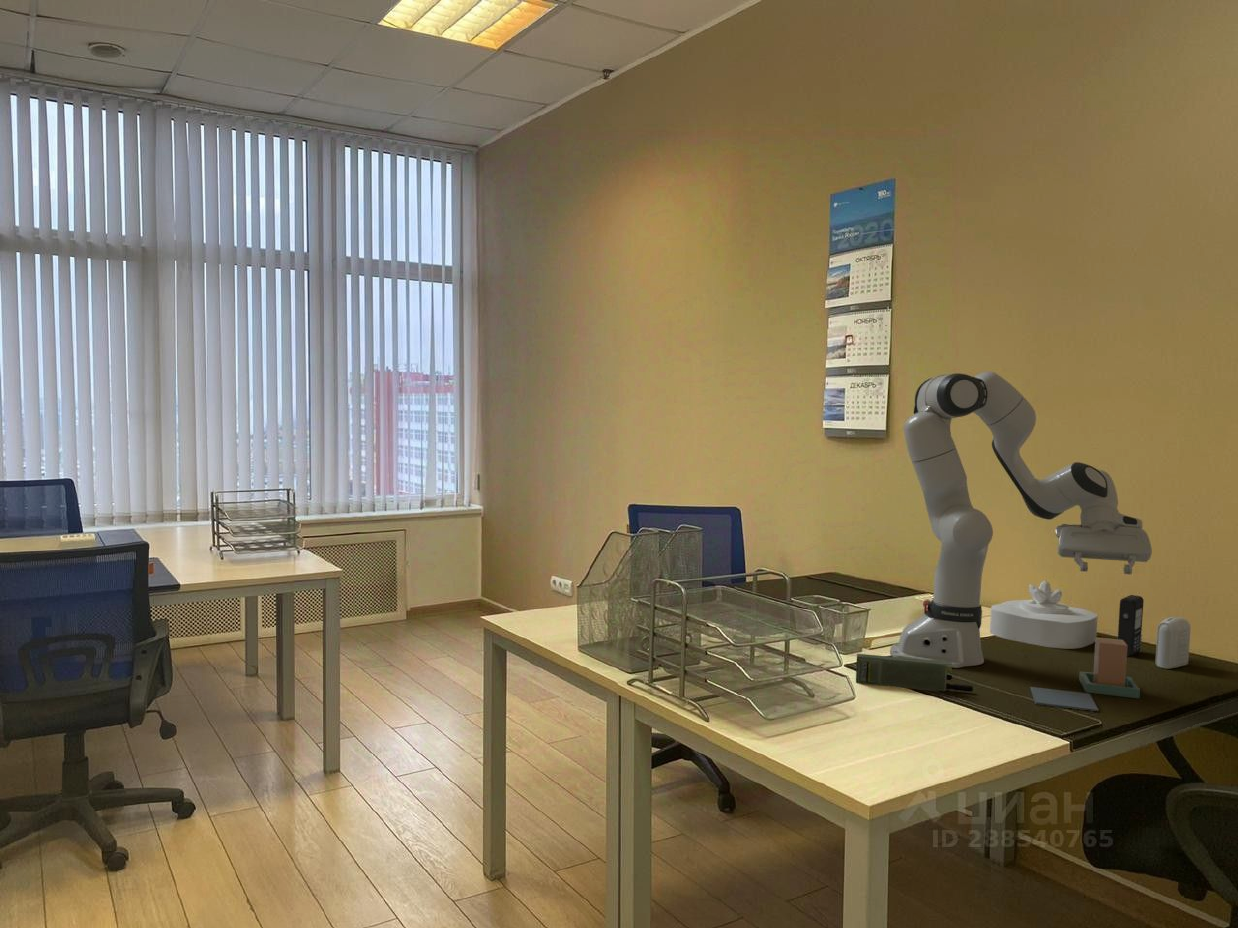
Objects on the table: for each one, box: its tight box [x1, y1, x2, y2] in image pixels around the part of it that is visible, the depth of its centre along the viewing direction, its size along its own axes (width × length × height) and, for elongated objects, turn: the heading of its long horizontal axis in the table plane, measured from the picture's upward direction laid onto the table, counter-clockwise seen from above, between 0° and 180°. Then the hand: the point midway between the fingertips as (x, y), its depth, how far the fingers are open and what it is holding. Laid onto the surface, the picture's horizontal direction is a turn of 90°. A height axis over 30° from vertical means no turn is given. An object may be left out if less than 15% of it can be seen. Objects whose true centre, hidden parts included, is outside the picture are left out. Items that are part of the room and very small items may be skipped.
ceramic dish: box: [1078, 670, 1141, 699], centre depth 208 cm, size 11×11×3 cm
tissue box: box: [989, 580, 1099, 650], centre depth 258 cm, size 25×25×16 cm
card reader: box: [1117, 594, 1145, 657], centre depth 241 cm, size 9×4×15 cm, turn 136°
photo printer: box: [1154, 616, 1191, 669], centre depth 230 cm, size 10×4×12 cm, turn 123°
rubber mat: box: [1030, 686, 1099, 712], centre depth 199 cm, size 12×12×1 cm
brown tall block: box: [1092, 636, 1128, 687], centre depth 208 cm, size 6×6×11 cm
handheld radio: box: [855, 653, 974, 693], centre depth 205 cm, size 7×3×25 cm
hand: (1106, 571), depth 219 cm, fingers open, 8 cm apart
